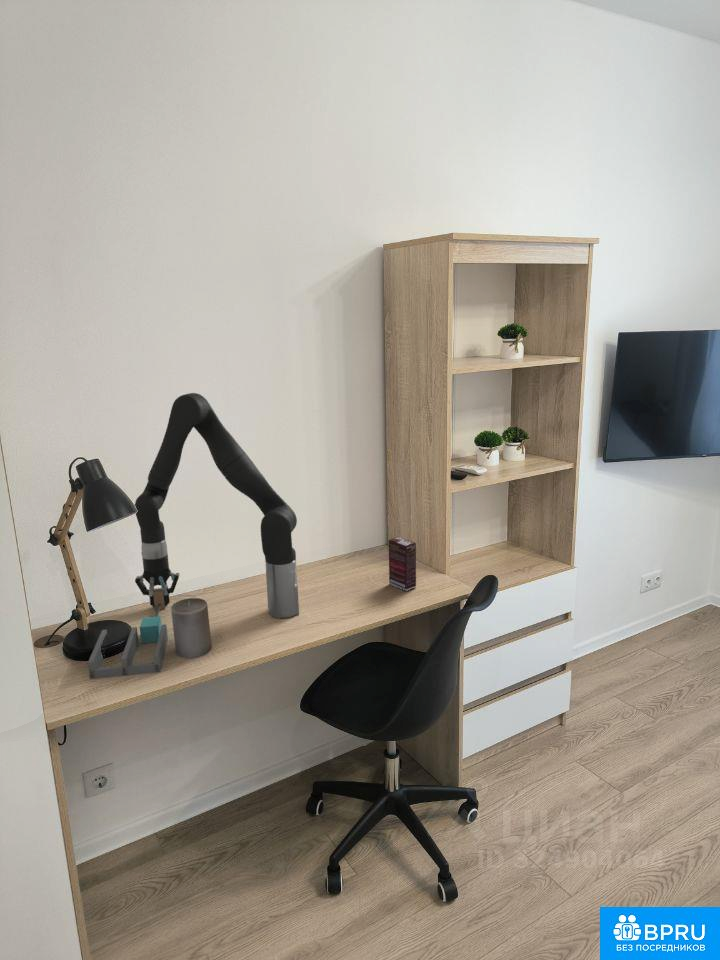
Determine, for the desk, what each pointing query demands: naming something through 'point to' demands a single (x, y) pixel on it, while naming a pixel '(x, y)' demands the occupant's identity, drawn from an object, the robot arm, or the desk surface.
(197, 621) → the pillar candle
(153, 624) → the block ended dumbbell
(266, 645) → the desk surface
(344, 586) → the desk surface
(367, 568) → the desk surface
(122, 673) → the lane rack
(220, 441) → the robot arm
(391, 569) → the supplement box
